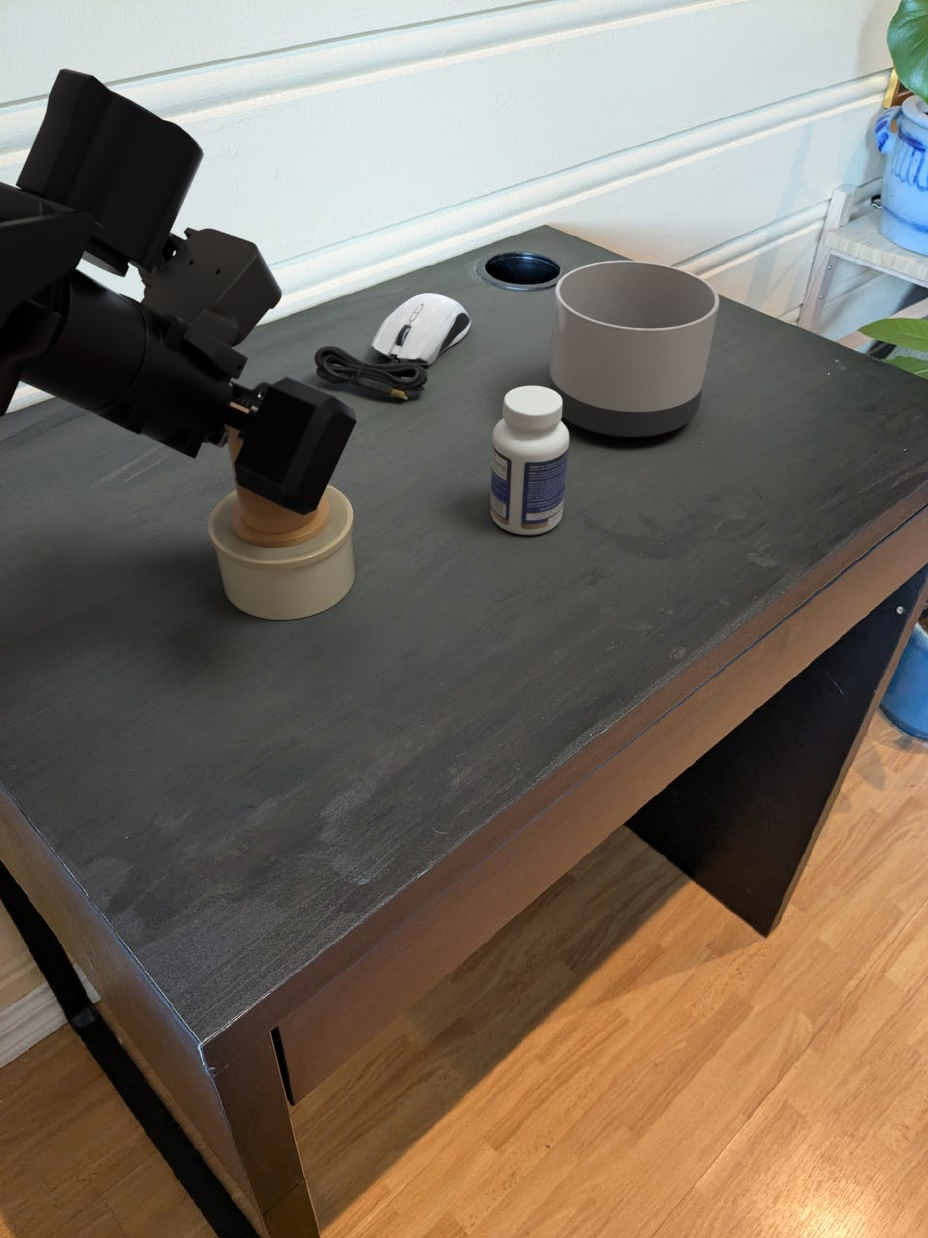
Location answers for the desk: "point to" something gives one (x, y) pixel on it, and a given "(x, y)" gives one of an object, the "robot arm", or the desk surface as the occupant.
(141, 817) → the desk surface
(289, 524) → the flanged wooden cylinder
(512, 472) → the pill bottle
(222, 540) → the cream ceramic pot
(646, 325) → the planter
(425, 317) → the computer mouse
